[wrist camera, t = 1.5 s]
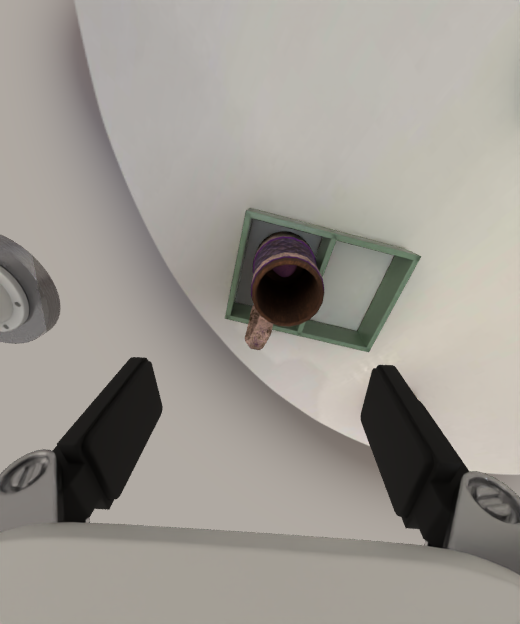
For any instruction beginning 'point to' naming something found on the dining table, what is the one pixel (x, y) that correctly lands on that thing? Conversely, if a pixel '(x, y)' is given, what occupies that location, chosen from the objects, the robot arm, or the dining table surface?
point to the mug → (282, 286)
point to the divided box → (380, 305)
